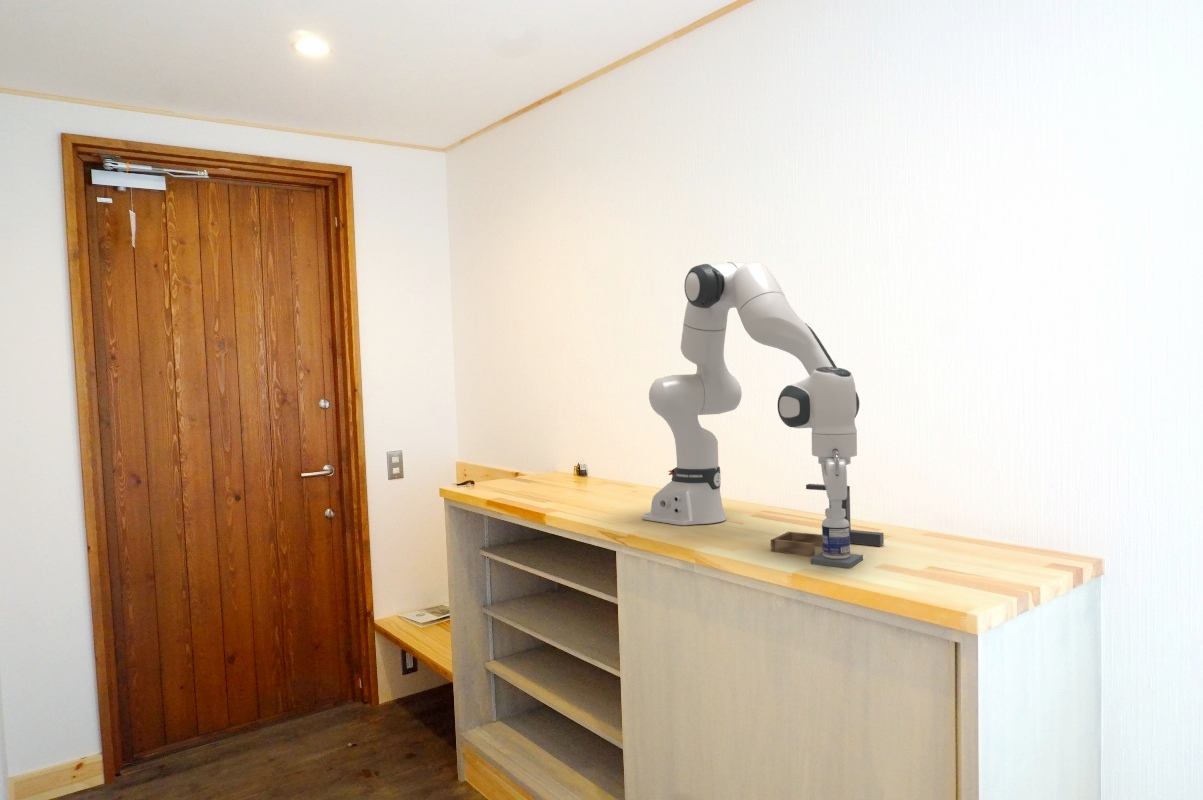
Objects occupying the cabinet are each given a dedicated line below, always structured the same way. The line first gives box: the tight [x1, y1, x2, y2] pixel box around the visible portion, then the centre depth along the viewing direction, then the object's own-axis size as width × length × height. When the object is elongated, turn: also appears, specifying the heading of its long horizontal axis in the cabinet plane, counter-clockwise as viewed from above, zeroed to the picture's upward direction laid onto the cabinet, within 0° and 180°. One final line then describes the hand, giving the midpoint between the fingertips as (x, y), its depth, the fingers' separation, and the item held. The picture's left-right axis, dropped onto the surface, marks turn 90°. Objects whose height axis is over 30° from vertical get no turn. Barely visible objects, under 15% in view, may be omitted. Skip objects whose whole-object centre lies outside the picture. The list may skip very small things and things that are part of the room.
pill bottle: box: [821, 507, 851, 559], centre depth 159 cm, size 5×5×10 cm
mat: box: [810, 551, 864, 569], centre depth 159 cm, size 8×8×1 cm
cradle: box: [770, 531, 823, 557], centre depth 172 cm, size 10×10×2 cm
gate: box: [805, 483, 885, 547], centre depth 177 cm, size 17×2×12 cm, turn 54°
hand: (834, 514), depth 160 cm, fingers open, 8 cm apart
